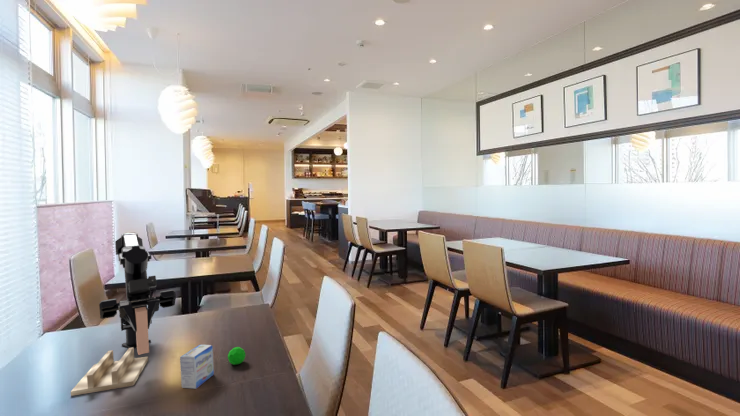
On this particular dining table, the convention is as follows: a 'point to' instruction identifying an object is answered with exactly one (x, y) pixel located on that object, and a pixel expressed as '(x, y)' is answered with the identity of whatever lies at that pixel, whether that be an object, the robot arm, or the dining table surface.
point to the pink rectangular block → (142, 330)
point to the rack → (111, 373)
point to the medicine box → (196, 366)
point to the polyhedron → (236, 356)
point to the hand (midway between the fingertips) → (142, 329)
